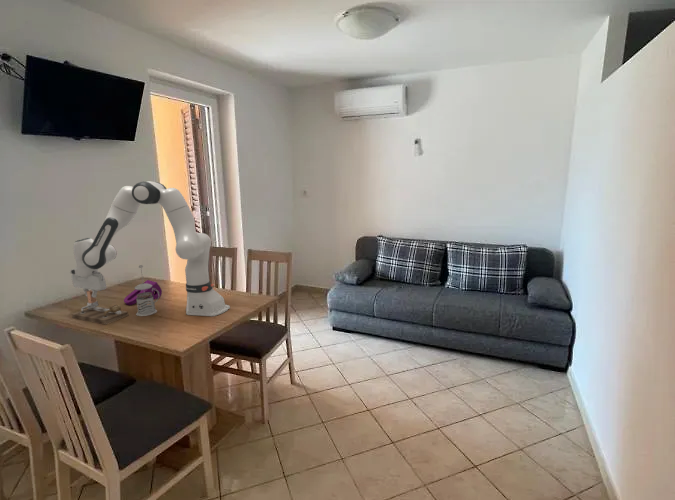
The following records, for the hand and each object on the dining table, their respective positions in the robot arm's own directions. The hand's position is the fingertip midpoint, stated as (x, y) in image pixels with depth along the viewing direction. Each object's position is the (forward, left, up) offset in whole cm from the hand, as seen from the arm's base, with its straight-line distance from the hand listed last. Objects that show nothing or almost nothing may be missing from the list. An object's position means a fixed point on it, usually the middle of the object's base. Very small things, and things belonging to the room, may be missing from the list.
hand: (91, 296), depth 193 cm
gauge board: (-8, +2, -9) cm, 12 cm away
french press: (-26, -11, -9) cm, 29 cm away
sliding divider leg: (0, +2, -6) cm, 7 cm away
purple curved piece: (-7, -23, -9) cm, 26 cm away
